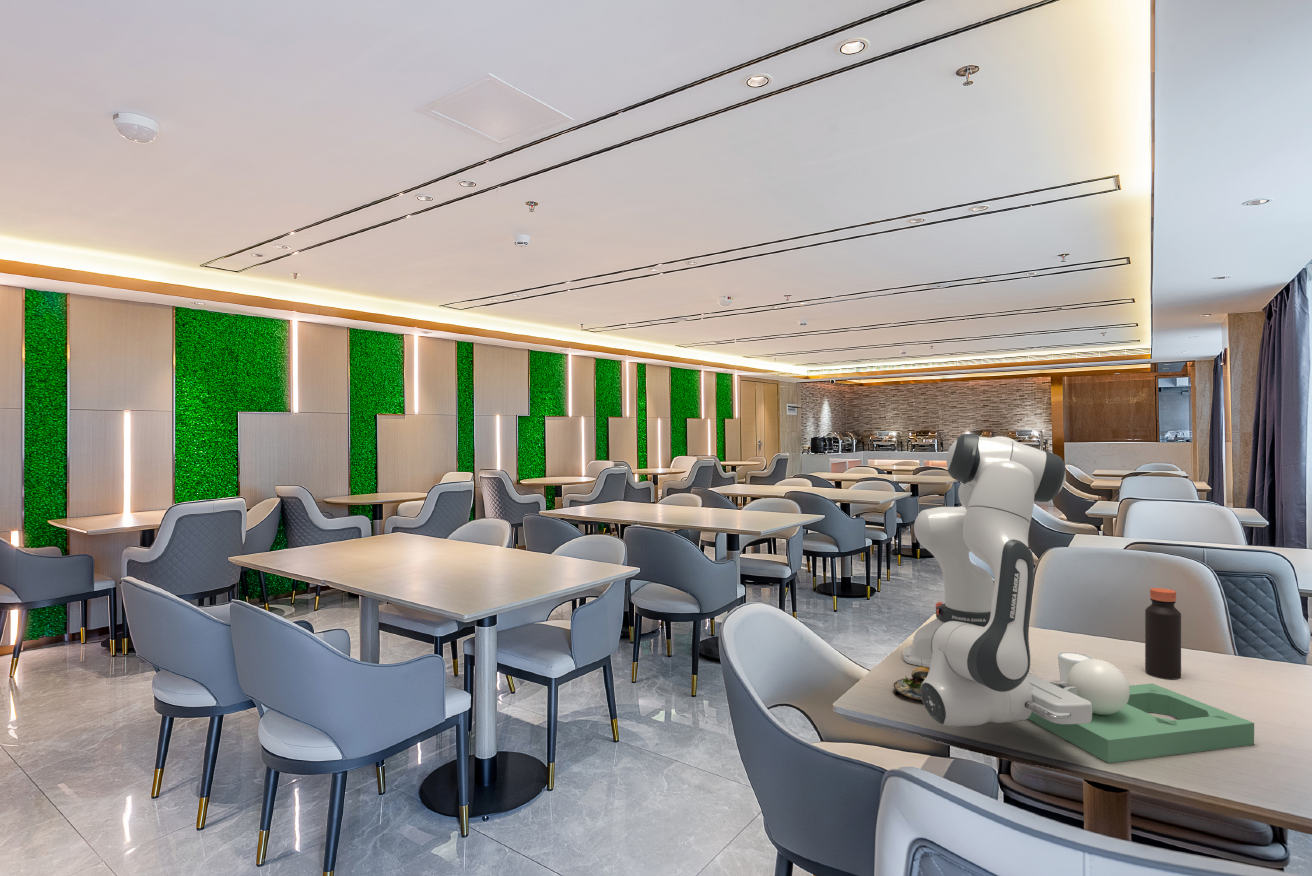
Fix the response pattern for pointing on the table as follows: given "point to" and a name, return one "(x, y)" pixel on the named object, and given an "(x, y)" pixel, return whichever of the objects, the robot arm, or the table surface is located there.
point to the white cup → (1068, 663)
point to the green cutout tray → (1155, 727)
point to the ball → (1100, 685)
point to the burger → (912, 683)
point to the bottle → (1163, 635)
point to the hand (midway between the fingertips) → (1071, 689)
